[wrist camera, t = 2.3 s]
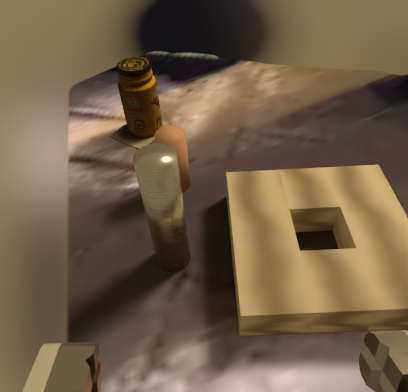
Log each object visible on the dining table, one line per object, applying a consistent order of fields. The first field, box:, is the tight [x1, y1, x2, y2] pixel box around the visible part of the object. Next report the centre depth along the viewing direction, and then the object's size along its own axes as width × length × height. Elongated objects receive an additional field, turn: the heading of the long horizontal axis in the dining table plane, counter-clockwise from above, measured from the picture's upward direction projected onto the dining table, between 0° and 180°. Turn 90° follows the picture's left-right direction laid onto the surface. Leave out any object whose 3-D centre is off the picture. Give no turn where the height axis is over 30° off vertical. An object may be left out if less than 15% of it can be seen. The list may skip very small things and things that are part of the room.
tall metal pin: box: [133, 143, 190, 272], centre depth 38 cm, size 4×4×16 cm
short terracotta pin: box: [155, 125, 190, 192], centre depth 50 cm, size 4×4×9 cm
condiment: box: [110, 57, 173, 149], centre depth 59 cm, size 7×8×12 cm
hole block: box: [226, 165, 408, 336], centre depth 42 cm, size 20×20×4 cm
